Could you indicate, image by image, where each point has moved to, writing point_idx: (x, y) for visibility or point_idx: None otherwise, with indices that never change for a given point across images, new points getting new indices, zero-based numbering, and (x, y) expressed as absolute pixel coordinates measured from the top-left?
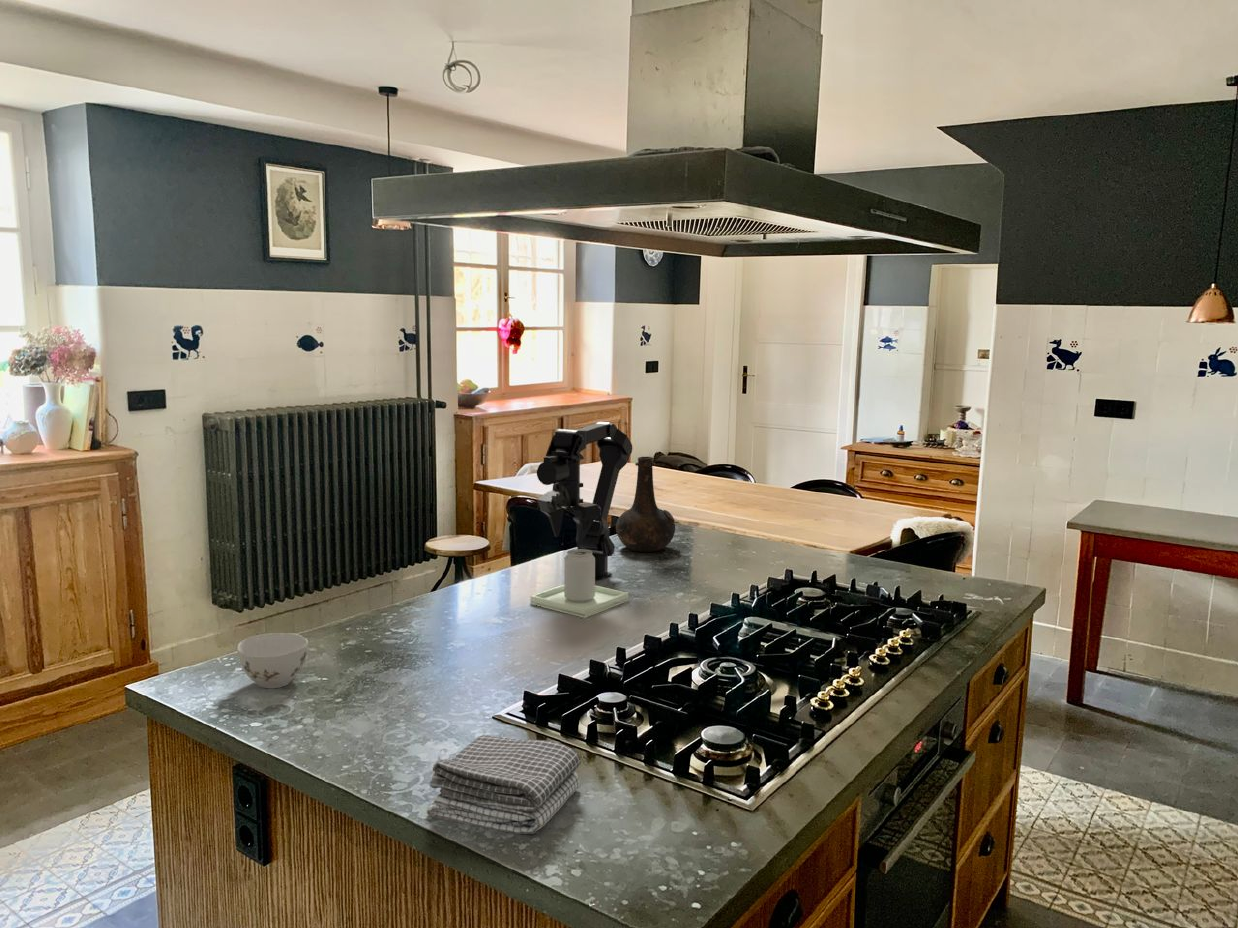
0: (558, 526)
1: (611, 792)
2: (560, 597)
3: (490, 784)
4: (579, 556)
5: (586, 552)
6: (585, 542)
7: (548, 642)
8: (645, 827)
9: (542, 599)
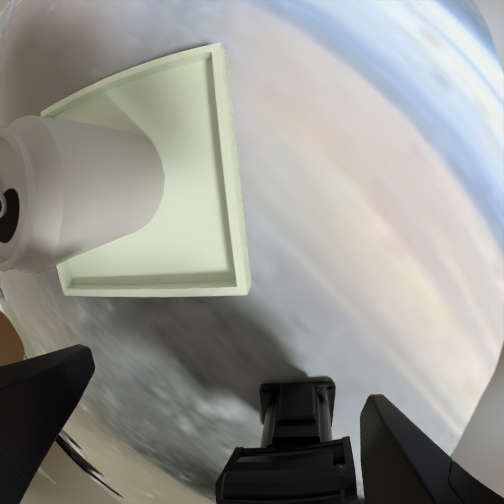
0: (375, 479)
1: None
2: (177, 145)
3: None
4: None
5: (3, 248)
6: (289, 469)
7: (48, 5)
8: None
9: (165, 56)
